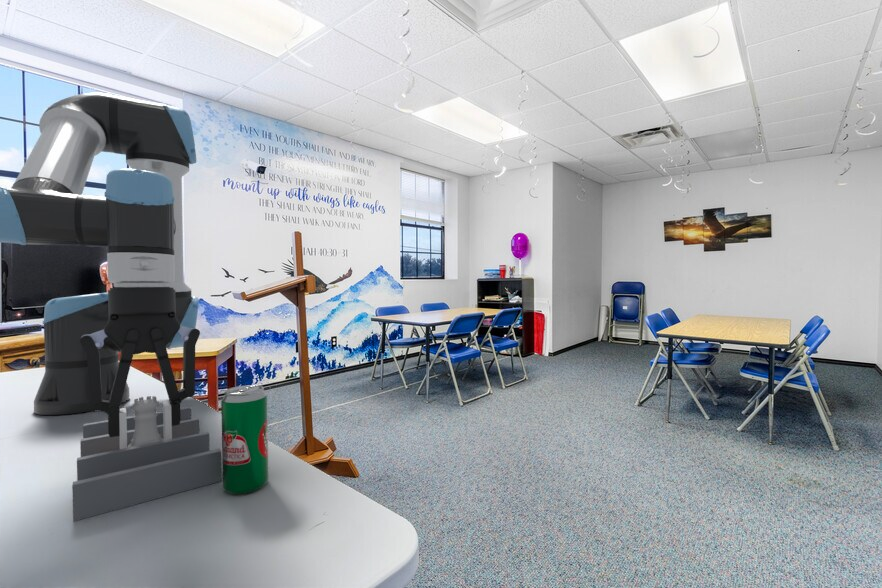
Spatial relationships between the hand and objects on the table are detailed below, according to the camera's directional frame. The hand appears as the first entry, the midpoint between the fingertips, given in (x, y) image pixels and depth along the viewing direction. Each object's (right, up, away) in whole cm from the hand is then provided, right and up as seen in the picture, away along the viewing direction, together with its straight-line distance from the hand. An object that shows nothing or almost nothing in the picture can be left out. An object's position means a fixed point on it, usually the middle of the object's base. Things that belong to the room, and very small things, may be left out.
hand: (146, 453), depth 57 cm
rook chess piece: (0, -1, 0) cm, 1 cm away
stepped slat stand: (0, -1, 0) cm, 1 cm away
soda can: (+17, -2, -7) cm, 19 cm away
